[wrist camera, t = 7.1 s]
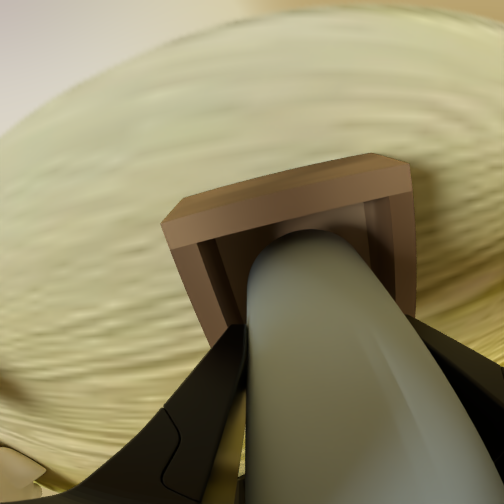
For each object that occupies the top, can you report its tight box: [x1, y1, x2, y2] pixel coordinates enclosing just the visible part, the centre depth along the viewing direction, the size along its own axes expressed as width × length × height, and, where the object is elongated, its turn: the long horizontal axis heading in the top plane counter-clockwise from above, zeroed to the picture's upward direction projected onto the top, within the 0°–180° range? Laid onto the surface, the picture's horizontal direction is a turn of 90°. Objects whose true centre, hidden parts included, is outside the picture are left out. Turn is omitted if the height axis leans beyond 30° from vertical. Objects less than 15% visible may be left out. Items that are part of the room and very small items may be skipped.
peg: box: [245, 229, 504, 504], centre depth 6 cm, size 4×4×9 cm
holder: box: [160, 153, 416, 348], centre depth 10 cm, size 7×7×3 cm
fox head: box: [0, 447, 46, 502], centre depth 20 cm, size 13×17×20 cm
